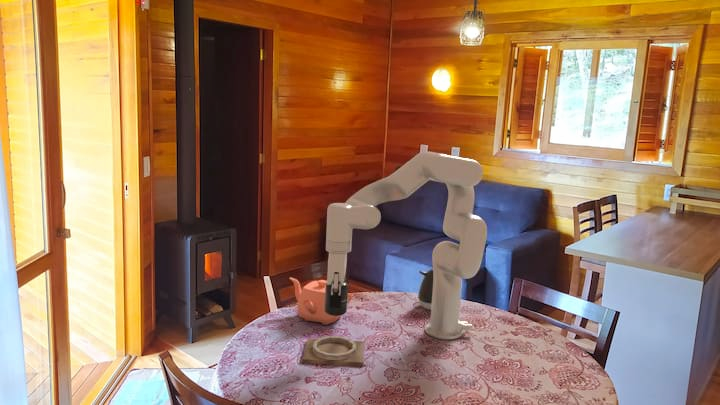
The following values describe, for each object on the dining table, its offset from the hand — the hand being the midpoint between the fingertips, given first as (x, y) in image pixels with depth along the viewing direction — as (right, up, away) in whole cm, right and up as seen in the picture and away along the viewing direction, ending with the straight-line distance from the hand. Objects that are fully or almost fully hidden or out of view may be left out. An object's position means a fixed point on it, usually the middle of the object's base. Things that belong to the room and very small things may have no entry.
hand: (336, 302), depth 161 cm
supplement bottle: (0, -3, +1) cm, 3 cm away
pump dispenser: (+34, -10, +44) cm, 57 cm away
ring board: (-1, -16, +3) cm, 17 cm away
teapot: (-7, -11, +30) cm, 33 cm away
